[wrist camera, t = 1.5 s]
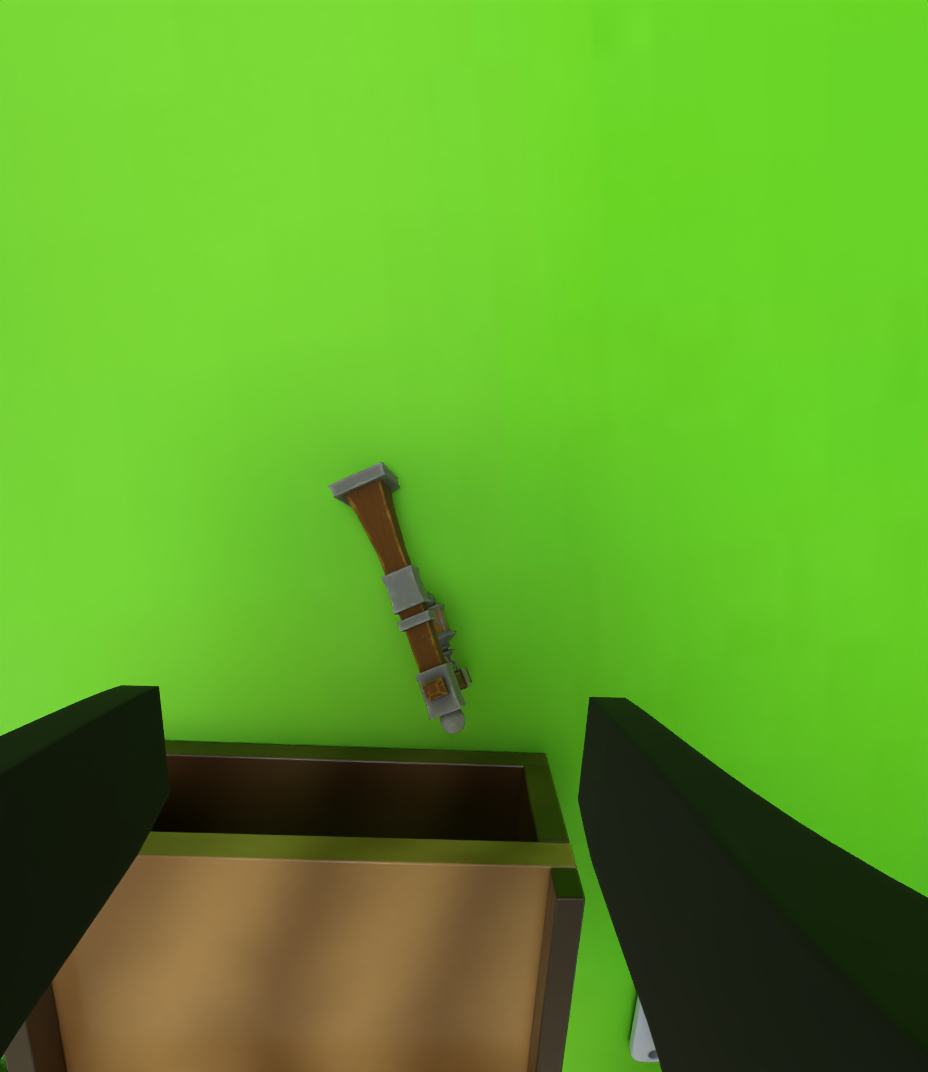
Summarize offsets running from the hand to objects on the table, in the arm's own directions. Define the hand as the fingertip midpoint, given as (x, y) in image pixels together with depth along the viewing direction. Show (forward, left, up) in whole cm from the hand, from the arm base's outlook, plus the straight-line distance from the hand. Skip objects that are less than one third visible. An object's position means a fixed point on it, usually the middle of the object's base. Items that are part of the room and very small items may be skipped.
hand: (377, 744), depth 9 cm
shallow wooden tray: (+3, +12, -10) cm, 16 cm away
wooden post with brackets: (0, 0, -10) cm, 10 cm away
